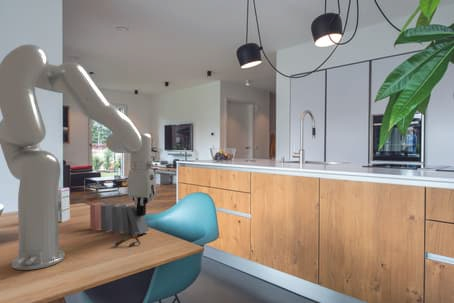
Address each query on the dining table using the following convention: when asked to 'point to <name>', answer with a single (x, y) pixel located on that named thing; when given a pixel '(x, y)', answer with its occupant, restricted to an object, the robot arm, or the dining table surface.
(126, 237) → the wooden post with brackets
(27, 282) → the dining table surface
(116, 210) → the domino
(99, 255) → the dining table surface
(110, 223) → the domino
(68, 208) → the syrup box
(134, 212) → the domino
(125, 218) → the domino
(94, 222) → the domino
